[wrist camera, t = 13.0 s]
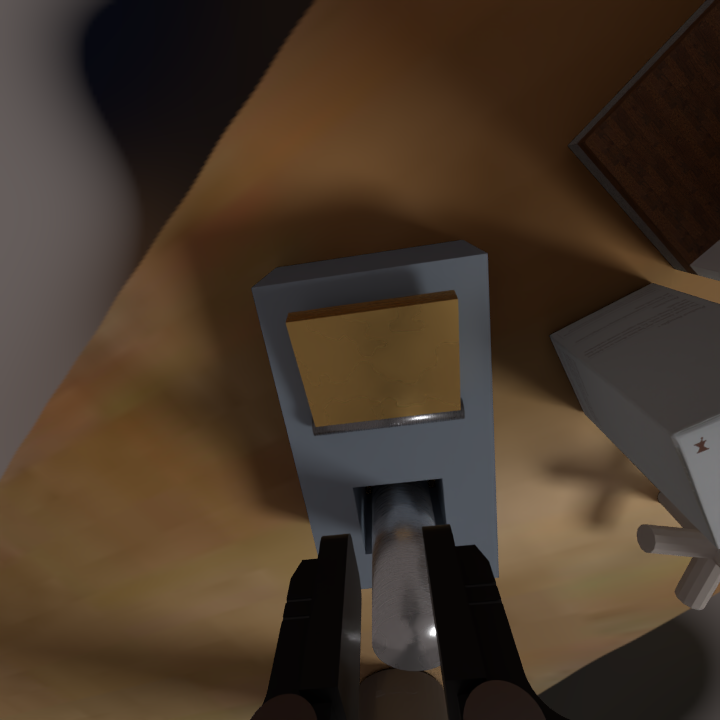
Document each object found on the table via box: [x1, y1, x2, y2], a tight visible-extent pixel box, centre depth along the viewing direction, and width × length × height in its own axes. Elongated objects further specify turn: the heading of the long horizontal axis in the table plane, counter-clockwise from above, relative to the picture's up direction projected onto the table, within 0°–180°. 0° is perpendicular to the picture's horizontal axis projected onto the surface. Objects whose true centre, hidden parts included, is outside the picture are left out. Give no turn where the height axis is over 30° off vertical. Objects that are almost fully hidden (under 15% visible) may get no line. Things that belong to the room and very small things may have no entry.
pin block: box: [251, 240, 499, 589], centre depth 28 cm, size 22×12×6 cm, turn 9°
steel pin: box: [372, 480, 440, 671], centre depth 26 cm, size 4×4×14 cm
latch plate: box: [286, 290, 465, 436], centre depth 22 cm, size 8×8×1 cm
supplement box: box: [550, 283, 720, 549], centre depth 23 cm, size 7×7×13 cm
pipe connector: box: [637, 492, 720, 610], centre depth 28 cm, size 10×10×10 cm
